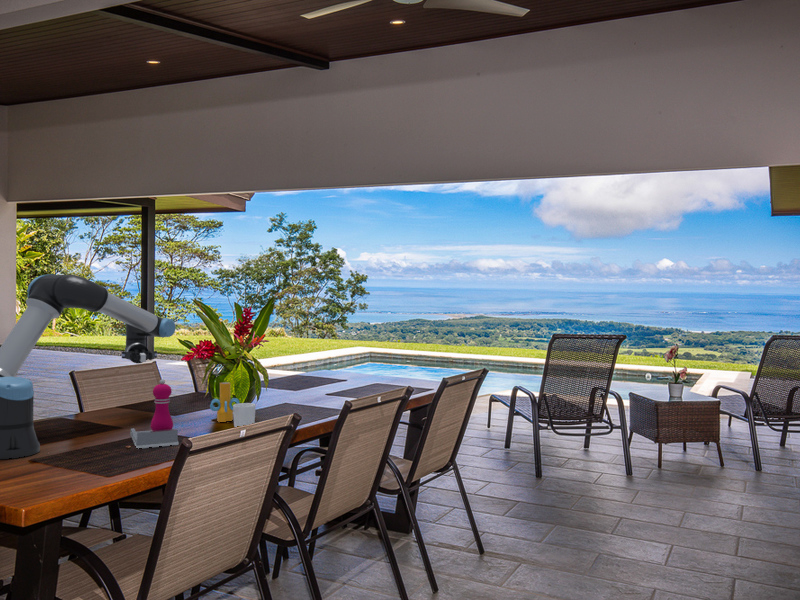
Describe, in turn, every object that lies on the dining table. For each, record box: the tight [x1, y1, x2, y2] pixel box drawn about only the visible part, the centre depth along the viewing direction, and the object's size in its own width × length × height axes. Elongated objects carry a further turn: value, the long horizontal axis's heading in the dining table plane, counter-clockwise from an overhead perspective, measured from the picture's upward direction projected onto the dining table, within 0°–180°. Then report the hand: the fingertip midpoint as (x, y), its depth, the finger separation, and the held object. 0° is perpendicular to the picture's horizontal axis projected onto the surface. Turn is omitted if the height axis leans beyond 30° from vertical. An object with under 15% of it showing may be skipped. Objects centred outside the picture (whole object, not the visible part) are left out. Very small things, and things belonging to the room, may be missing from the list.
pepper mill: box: [150, 378, 174, 431], centre depth 225 cm, size 7×7×20 cm
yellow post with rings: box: [209, 381, 240, 423], centre depth 259 cm, size 12×10×15 cm
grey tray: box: [129, 428, 179, 450], centre depth 228 cm, size 22×13×5 cm, turn 27°
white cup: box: [232, 402, 256, 427], centre depth 240 cm, size 8×8×10 cm
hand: (143, 358), depth 239 cm, fingers closed
